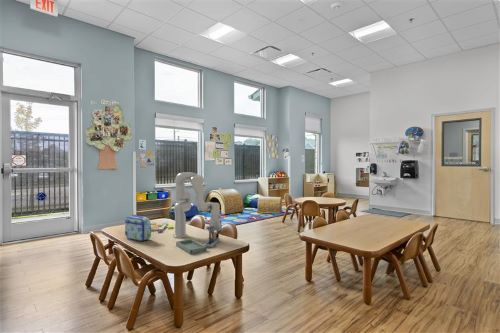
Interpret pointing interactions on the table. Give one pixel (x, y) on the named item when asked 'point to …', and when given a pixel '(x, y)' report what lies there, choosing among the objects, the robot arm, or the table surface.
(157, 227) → the pattern blocks set
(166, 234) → the table surface
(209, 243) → the stake
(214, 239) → the grey elongated block
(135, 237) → the lunch box
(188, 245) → the tray
